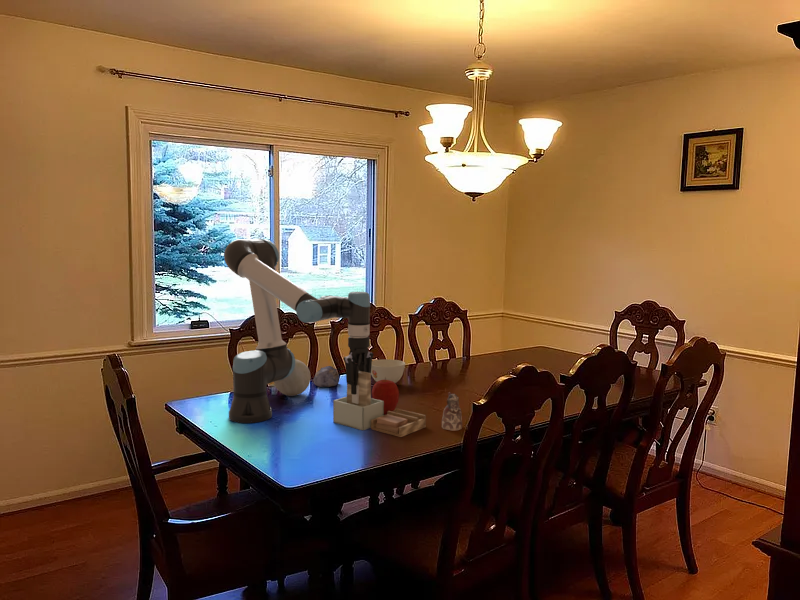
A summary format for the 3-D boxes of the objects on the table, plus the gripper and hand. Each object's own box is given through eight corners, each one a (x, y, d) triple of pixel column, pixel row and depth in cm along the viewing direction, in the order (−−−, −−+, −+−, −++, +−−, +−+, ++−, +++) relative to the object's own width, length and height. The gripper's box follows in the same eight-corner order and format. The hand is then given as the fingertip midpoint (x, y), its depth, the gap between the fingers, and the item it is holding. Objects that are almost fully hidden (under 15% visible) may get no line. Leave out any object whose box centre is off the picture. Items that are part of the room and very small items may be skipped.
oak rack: (400, 437, 205) (400, 424, 204) (370, 429, 213) (371, 416, 212) (425, 427, 216) (425, 415, 215) (396, 419, 224) (396, 408, 223)
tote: (362, 430, 211) (363, 407, 210) (333, 422, 220) (333, 400, 219) (383, 423, 220) (383, 401, 219) (354, 415, 228) (354, 394, 228)
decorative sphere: (299, 401, 246) (299, 364, 244) (266, 398, 251) (266, 361, 249) (316, 392, 260) (316, 357, 258) (285, 389, 265) (284, 354, 263)
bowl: (410, 388, 270) (410, 365, 269) (375, 391, 264) (375, 368, 263) (397, 379, 285) (397, 358, 284) (363, 382, 279) (364, 360, 278)
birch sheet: (365, 419, 216) (366, 374, 214) (346, 414, 221) (347, 370, 220) (370, 417, 218) (370, 373, 216) (351, 413, 223) (351, 369, 222)
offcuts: (397, 433, 206) (397, 423, 206) (375, 427, 212) (375, 418, 212) (410, 428, 212) (411, 419, 212) (389, 422, 218) (389, 413, 218)
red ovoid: (404, 413, 232) (404, 377, 230) (385, 419, 225) (385, 381, 223) (384, 407, 239) (385, 372, 237) (365, 413, 232) (366, 376, 230)
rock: (342, 376, 278) (334, 359, 273) (337, 392, 270) (330, 375, 265) (319, 379, 281) (312, 363, 276) (314, 395, 272) (307, 378, 267)
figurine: (445, 431, 212) (446, 396, 210) (438, 425, 218) (439, 391, 217) (465, 429, 214) (466, 395, 212) (457, 423, 220) (458, 390, 219)
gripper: (351, 340, 208) (351, 408, 211) (381, 334, 220) (380, 399, 223) (335, 337, 213) (335, 404, 215) (365, 332, 225) (365, 395, 227)
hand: (358, 401), depth 219 cm, fingers closed on birch sheet, 2 cm apart
